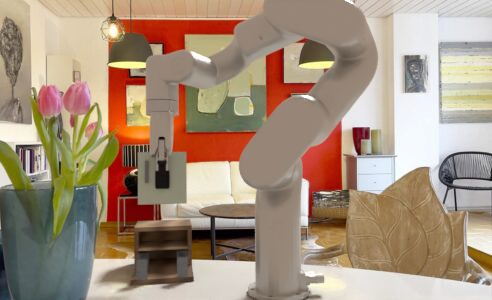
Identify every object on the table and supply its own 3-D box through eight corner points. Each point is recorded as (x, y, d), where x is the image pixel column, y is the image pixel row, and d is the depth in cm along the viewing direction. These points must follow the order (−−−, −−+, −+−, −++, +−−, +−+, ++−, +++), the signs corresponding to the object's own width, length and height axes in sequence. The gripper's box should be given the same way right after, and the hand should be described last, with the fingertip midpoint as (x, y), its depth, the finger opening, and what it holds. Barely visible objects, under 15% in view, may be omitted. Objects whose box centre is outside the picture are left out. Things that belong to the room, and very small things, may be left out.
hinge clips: (187, 269, 101) (186, 250, 101) (187, 276, 94) (187, 257, 95) (138, 272, 99) (138, 253, 99) (136, 280, 93) (136, 259, 93)
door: (186, 202, 99) (186, 151, 99) (186, 203, 96) (186, 151, 96) (138, 203, 97) (138, 152, 97) (137, 205, 94) (137, 152, 94)
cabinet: (190, 259, 114) (190, 219, 114) (193, 281, 95) (193, 232, 95) (138, 262, 112) (137, 221, 112) (130, 284, 92) (129, 235, 92)
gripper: (148, 112, 104) (148, 185, 104) (143, 105, 89) (143, 191, 88) (178, 112, 106) (178, 185, 106) (178, 105, 90) (179, 190, 90)
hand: (162, 187), depth 97 cm, fingers closed on door, 2 cm apart
